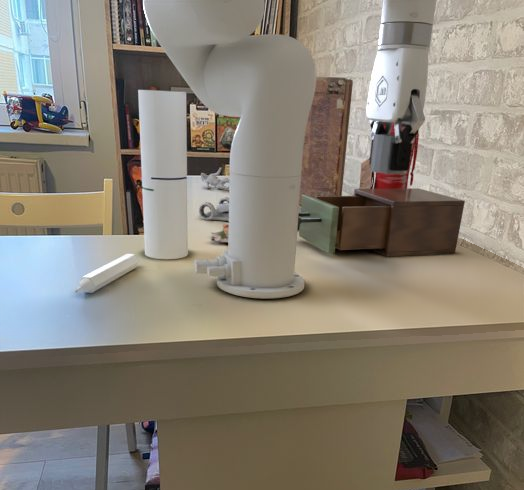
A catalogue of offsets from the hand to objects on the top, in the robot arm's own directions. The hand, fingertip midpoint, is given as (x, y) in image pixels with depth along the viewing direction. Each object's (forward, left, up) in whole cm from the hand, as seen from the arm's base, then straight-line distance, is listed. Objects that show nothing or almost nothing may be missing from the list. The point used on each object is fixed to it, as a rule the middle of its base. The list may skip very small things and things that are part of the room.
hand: (388, 166), depth 90 cm
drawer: (-4, +10, -15) cm, 18 cm away
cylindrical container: (-34, +11, -16) cm, 39 cm away
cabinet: (+11, +10, -16) cm, 21 cm away
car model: (-10, +35, -16) cm, 40 cm away
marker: (-45, -3, -16) cm, 48 cm away
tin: (0, 0, -1) cm, 1 cm away
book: (+8, +59, -16) cm, 61 cm away
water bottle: (+16, +27, -16) cm, 35 cm away
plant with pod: (-19, +18, -16) cm, 31 cm away
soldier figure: (-6, +83, -16) cm, 84 cm away
